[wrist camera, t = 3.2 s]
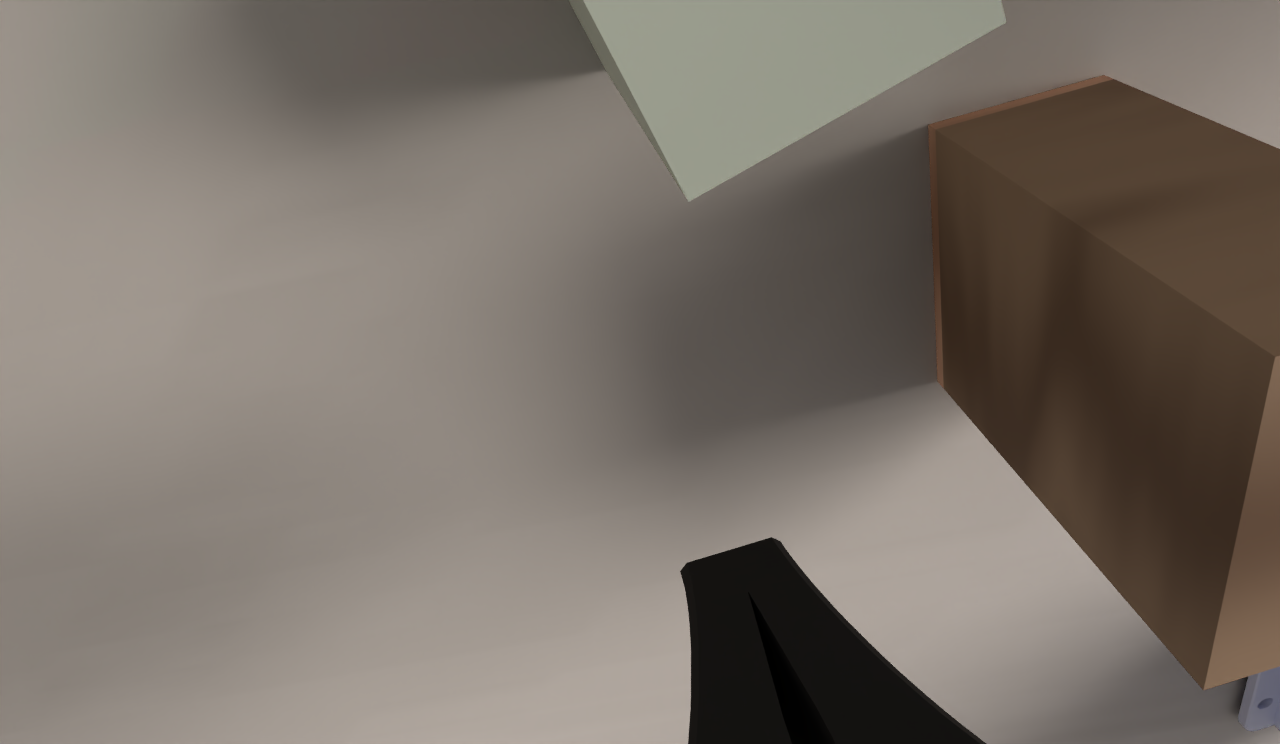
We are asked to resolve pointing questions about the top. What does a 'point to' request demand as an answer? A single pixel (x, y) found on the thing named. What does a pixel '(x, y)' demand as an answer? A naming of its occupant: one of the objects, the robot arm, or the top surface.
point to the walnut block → (1126, 345)
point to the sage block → (763, 68)
